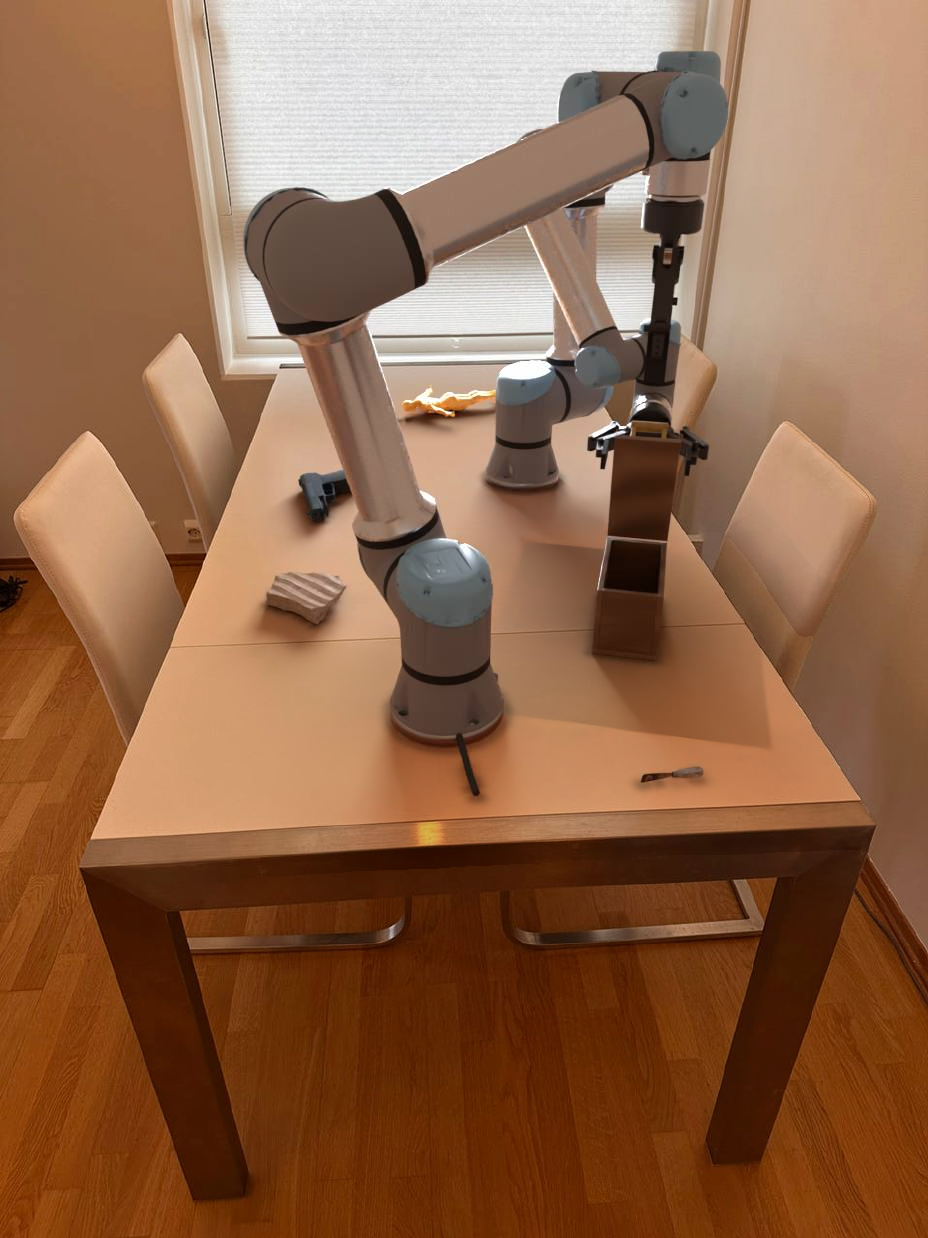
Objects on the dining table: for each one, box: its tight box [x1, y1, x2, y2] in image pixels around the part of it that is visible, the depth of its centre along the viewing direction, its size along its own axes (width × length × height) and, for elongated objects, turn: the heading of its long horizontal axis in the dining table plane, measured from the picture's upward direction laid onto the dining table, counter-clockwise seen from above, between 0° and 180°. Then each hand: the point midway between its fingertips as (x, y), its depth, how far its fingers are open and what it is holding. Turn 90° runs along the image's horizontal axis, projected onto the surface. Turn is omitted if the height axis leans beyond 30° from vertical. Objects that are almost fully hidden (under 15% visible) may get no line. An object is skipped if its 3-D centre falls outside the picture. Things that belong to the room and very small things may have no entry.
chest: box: [591, 536, 668, 662], centre depth 136 cm, size 17×9×11 cm, turn 168°
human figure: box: [402, 385, 496, 418], centre depth 225 cm, size 20×20×4 cm
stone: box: [265, 571, 347, 625], centre depth 145 cm, size 13×12×2 cm
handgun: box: [298, 469, 351, 522], centre depth 178 cm, size 3×18×12 cm
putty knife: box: [640, 765, 705, 784], centre depth 109 cm, size 1×8×2 cm, turn 103°
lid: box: [606, 421, 681, 542], centre depth 136 cm, size 18×9×8 cm
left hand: (655, 367), depth 122 cm, fingers open, 13 cm apart
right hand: (645, 464), depth 145 cm, fingers open, 13 cm apart
